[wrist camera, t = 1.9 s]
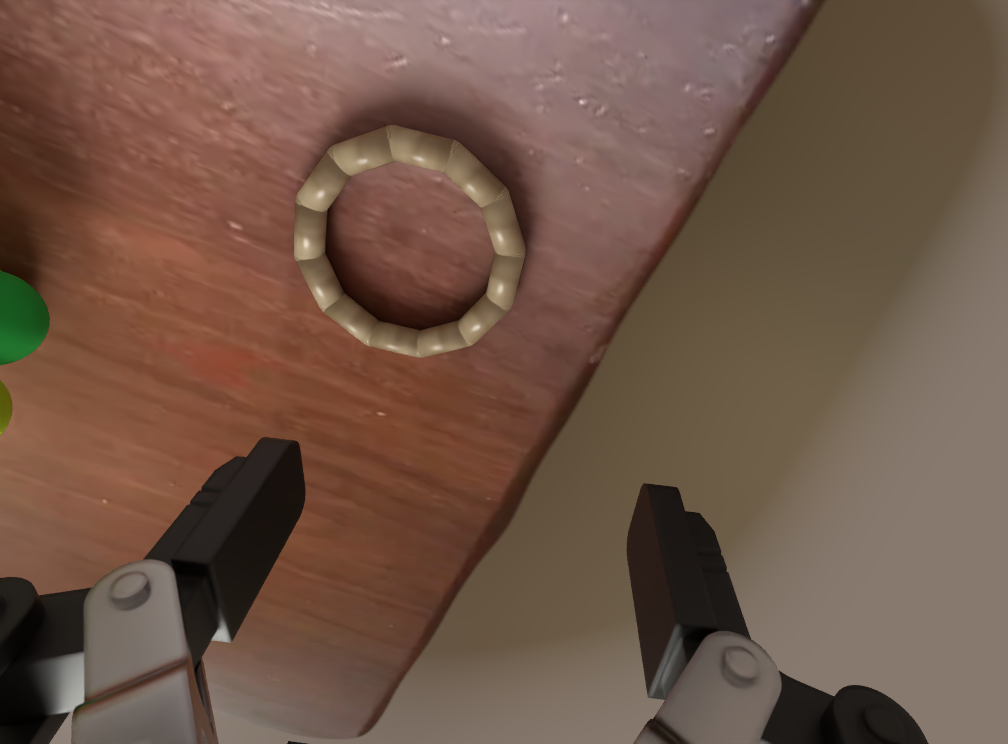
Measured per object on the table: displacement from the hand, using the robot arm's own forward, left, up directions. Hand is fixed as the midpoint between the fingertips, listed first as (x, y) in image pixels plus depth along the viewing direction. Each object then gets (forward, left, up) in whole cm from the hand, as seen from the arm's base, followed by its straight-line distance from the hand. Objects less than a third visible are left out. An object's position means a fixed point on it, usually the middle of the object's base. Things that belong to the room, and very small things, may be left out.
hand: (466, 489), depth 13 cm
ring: (+4, -2, -15) cm, 16 cm away
